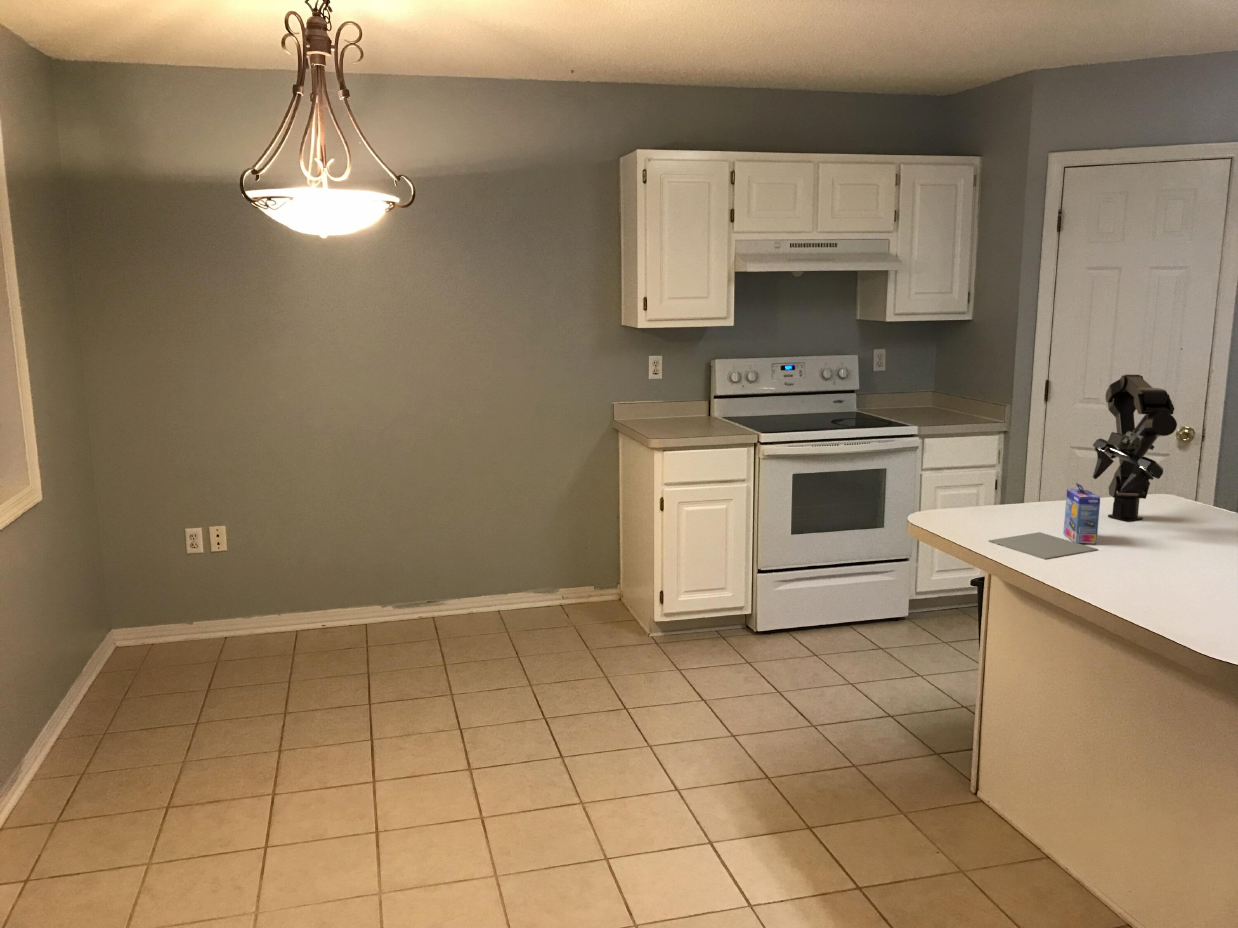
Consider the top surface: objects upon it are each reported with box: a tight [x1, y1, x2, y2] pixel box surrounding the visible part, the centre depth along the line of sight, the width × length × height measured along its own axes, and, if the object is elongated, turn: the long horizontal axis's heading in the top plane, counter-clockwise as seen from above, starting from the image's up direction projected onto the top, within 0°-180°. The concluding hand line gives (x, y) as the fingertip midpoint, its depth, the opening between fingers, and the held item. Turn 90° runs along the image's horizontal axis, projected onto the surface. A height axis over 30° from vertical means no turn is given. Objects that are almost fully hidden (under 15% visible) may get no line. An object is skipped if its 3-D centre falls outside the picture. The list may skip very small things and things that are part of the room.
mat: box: [988, 531, 1099, 560], centre depth 249 cm, size 18×18×1 cm
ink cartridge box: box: [1062, 482, 1101, 545], centre depth 253 cm, size 10×6×14 cm, turn 174°
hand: (1107, 484), depth 258 cm, fingers open, 9 cm apart
